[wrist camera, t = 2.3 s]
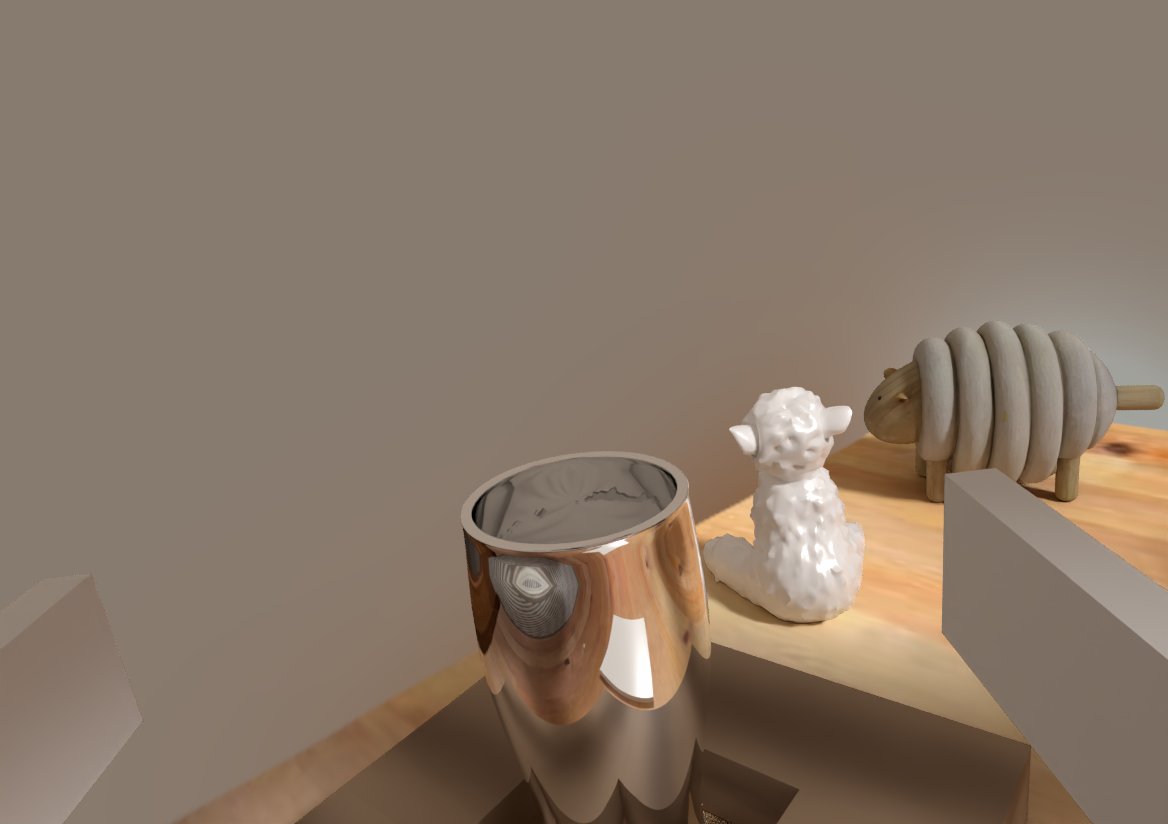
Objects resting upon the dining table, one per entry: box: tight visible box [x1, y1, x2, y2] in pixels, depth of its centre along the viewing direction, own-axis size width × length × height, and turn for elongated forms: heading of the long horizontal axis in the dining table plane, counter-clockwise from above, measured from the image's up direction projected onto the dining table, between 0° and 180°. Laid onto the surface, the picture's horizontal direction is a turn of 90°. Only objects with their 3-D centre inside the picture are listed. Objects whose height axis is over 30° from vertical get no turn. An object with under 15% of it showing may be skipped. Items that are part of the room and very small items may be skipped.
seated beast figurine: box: [703, 387, 865, 623], centre depth 41 cm, size 10×9×12 cm
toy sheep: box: [864, 321, 1164, 502], centre depth 50 cm, size 11×17×11 cm, turn 79°
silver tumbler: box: [460, 451, 711, 824], centre depth 25 cm, size 7×7×15 cm
